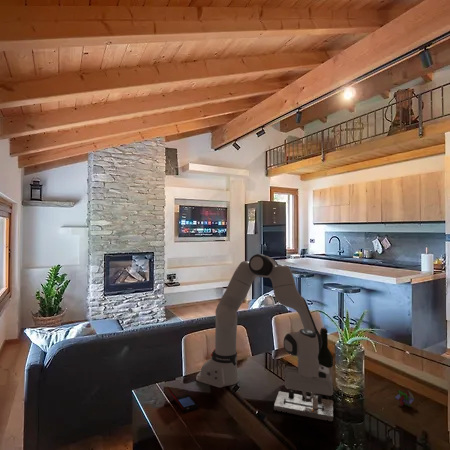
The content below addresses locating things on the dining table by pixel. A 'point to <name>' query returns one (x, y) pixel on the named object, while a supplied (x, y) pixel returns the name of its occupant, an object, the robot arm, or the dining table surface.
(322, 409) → the console
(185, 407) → the handheld game console
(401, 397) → the geometric puzzle
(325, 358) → the wine bottle
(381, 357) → the dining table surface
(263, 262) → the robot arm
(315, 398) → the fader
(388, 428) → the dining table surface
